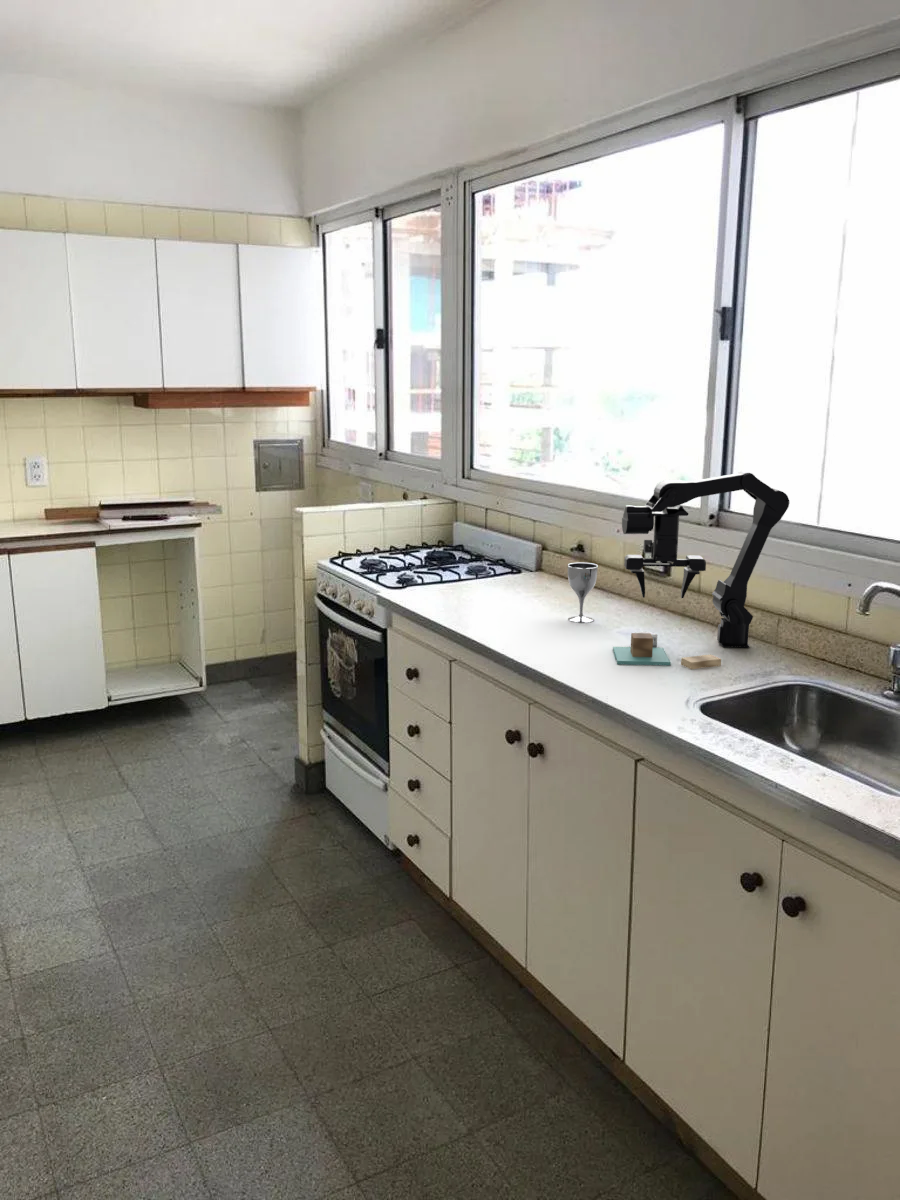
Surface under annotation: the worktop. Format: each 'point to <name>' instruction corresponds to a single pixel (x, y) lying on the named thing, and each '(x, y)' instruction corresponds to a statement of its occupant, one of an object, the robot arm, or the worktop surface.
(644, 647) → the walnut block
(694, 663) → the beech slab
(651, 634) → the metal tin
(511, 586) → the worktop surface
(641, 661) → the plate
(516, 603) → the worktop surface
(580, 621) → the wine glass
